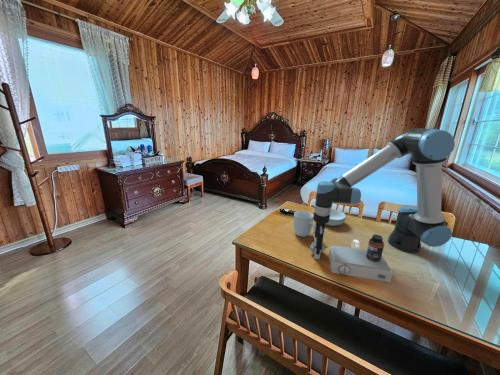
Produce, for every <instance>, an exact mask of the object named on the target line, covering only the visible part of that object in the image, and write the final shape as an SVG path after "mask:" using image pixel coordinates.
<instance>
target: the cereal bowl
mask: <svg viewBox="0 0 500 375" xmlns="http://www.w3.org/2000/svg"><path fill="white" fill-rule="evenodd" d="M346 217H347V216H346V214H345V213H344V212H343V211H341V210H338V209H336V208H335V209H334V208H331V213H330V219H329V222H328V223H325V224H324V225H326V226H332V227H335V226H340V225H343V223H344V222H345V221H346Z"/></svg>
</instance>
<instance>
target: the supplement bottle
mask: <svg viewBox="0 0 500 375" xmlns="http://www.w3.org/2000/svg"><path fill="white" fill-rule="evenodd" d="M383 240H384V239H383V236H382V235H380V234H376V233H375V234H372V237H371V238H370V239H369V240H368V245H367V254H366V257H367V258H368V259H369V260H371V261H375V262H378V261H380V260H381V256H382V254H383V252H384V247H385V242H384V241H383Z"/></svg>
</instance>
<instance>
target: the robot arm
mask: <svg viewBox="0 0 500 375" xmlns="http://www.w3.org/2000/svg"><path fill="white" fill-rule="evenodd" d="M455 142H456V141H455V138H454V137H453V135H452V133H450V132H448V131H446V130H443V129H438V128H421V127H417V128H412V129H409V130H406V131H403V132H402V133H400V134H398V135H396V136H395V137H394V138H392V139H390V140H389V141H387V142H386V145H385V146H384V147H382V148H381V149H380V150H378V151H377V152H375V153H374V154H372V155H371V156H369V157H368V158H366V159H365V160H363V161H361V162H360V163H359V164H357V165H356V166H354V167H353V168H352V169H350V170H348V171H347V172H345V173H344V174H342V175H340V176H339V177H336V178H335V177H334V178H331V179H330V180H329V181H326V180H324V181H322V180H321V181H319V182H318V183H317V187H316V191H315V192H316V193H315V202H314V205H313V206H312V207H313V208H314V210H313V222H315V226H316V229H315V234H314V239H313V241H316V247H315V246H314V248H315V253H314V254H313V260H320V258H321V254H320V253H321V250H322V243H323V244H324V242H323V241H324V234H325V229H326V227H325V225H326V224H325V223H328V222H329V219H330V213H331V209H332V208H333V207H332V206H333V204H348V205H354V204H355V205H357V204H359V203H360V202H361V199H362V193H361V192H362V191H361V190H360V188H358V187H354V186H355V185H357V184H358V183H360V182H362V181H363V180H364V179H366V178H368V177H369V176H371V175H372V174H374V173H376V172H377V171H379V170H380V169H382V168H383V167H384V166H386V165H388V164H389V163H391V162H393V161H394V160H396V159H401V158H403V157H404V156H407V155H411V162H412V164H414V165H415V166H416V204H417V205H413V204H412V205H411V204H409V205H407V204H406V205H405V204H404V205H401V206H400V207H399V209H398V213H397V218H396V221H395V225H394V229H393V231H392V232H391V233H390V235H389V236H388V239H387V242H388V244H389V245H390V246H391V247H393V248H395V249H397V250H399V251H403V252H406V253H413V254H414V253H415V254H416V253H418V252H420V251H421V248H422V243H423V244H425V246H426V245H427V246H428V247H433V248H437V247H441V246H444V245H445V244H447V243H448V242H449V241H450V240H451V239H452V235H453V231H452V229H450V227H448V226H446V225H447V224H446V216H445V215H444V214H442V192H443V191H442V185H443V184H442V179H443V176H442V175H443V174H442V173H443V171H442V170H443V164H444V163H446V162H447V160H448V159H447V158H448V157H449V156H450V155H451V153H453V151H454V149H455V147H456V145H455Z"/></svg>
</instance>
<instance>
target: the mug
mask: <svg viewBox="0 0 500 375" xmlns="http://www.w3.org/2000/svg"><path fill="white" fill-rule="evenodd" d="M313 216H314V213H311V212H309V211H307V210H297V211H294V213H293V229H294V232H295V234H296V236H298V237H303V238H304V237H307V236H315V229H316V223H314V220H313ZM312 228H313V232H312V233H311V231H312Z"/></svg>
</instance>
